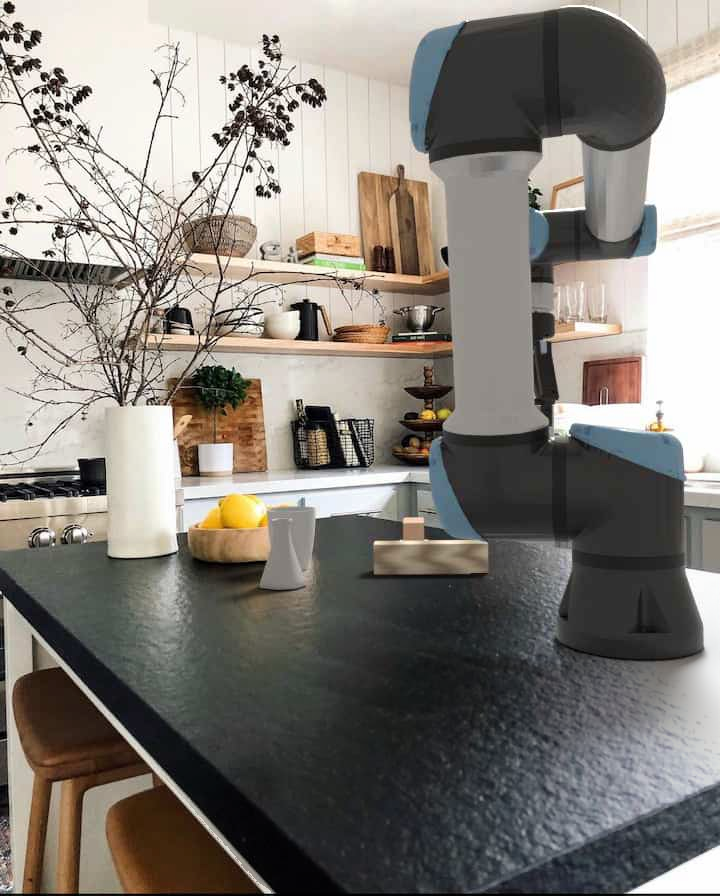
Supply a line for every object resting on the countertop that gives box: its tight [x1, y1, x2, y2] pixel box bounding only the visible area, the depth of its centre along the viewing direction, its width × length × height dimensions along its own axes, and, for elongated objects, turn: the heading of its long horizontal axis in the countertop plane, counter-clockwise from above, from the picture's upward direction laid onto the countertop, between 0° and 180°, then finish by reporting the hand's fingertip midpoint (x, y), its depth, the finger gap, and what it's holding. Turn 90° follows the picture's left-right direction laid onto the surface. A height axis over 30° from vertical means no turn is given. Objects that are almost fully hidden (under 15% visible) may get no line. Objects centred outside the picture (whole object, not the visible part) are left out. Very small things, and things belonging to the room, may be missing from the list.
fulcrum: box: [399, 516, 429, 541], centre depth 142 cm, size 8×5×7 cm, turn 176°
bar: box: [373, 539, 489, 575], centre depth 131 cm, size 18×4×5 cm, turn 86°
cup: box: [266, 505, 317, 572], centre depth 136 cm, size 8×8×10 cm
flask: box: [259, 518, 307, 591], centre depth 122 cm, size 7×7×10 cm
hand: (532, 447), depth 131 cm, fingers open, 13 cm apart
